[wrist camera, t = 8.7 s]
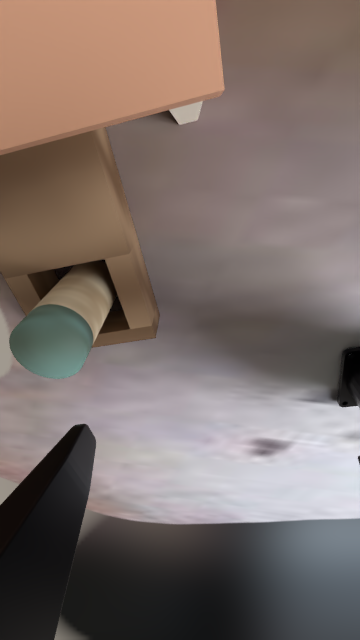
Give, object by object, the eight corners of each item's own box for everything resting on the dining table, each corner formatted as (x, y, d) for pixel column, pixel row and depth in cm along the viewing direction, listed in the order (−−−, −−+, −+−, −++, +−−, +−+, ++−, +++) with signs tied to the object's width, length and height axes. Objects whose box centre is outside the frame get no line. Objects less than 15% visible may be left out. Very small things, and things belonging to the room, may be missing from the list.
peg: (125, 300, 21) (95, 373, 14) (81, 307, 22) (31, 382, 15) (109, 254, 19) (66, 314, 13) (61, 264, 20) (-6, 326, 13)
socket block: (159, 315, 22) (155, 337, 19) (64, 330, 23) (48, 354, 20) (74, 20, 13) (46, -8, 11) (-71, 68, 14) (-127, 52, 12)
